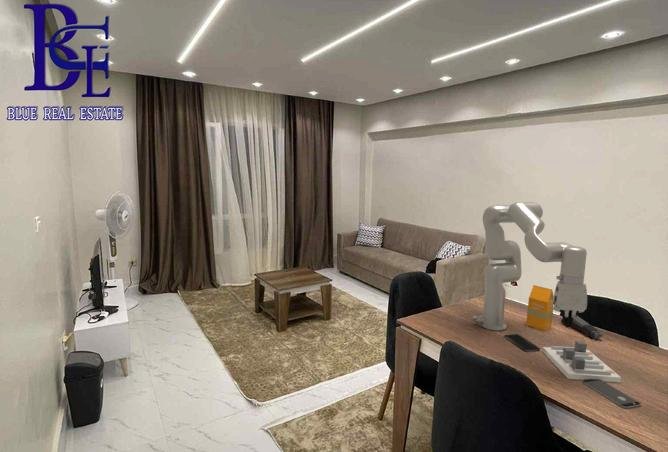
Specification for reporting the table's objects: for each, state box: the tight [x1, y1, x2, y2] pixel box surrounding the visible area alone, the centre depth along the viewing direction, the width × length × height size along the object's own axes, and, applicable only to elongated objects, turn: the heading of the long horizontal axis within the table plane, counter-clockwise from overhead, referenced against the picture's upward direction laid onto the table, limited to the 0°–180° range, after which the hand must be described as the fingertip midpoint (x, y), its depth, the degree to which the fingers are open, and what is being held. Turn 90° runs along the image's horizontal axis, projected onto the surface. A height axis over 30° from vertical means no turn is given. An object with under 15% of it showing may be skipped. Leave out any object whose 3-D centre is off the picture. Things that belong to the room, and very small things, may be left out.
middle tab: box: [562, 348, 575, 360], centre depth 143 cm, size 3×3×4 cm
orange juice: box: [526, 285, 554, 332], centre depth 179 cm, size 8×9×20 cm
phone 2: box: [581, 379, 642, 410], centre depth 125 cm, size 8×1×16 cm
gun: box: [560, 314, 604, 341], centre depth 175 cm, size 4×20×10 cm, turn 10°
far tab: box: [574, 340, 588, 352], centre depth 149 cm, size 3×3×4 cm
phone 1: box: [503, 333, 541, 353], centre depth 162 cm, size 8×1×15 cm
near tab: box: [572, 357, 585, 370], centre depth 136 cm, size 3×3×4 cm
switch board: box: [541, 345, 622, 384], centre depth 143 cm, size 18×21×3 cm
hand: (566, 326), depth 138 cm, fingers closed
